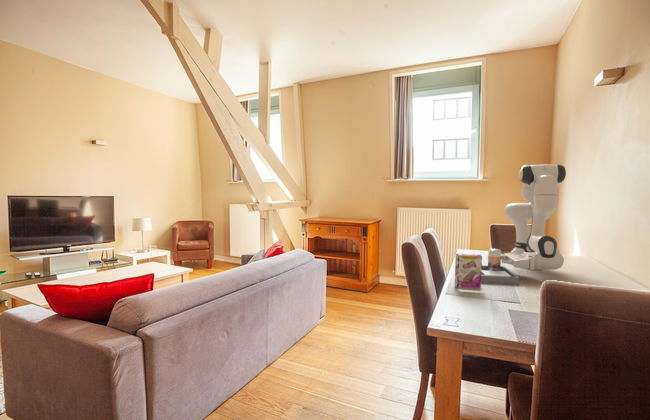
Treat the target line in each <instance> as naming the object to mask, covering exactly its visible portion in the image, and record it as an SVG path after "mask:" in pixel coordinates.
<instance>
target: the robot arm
mask: <svg viewBox="0 0 650 420" xmlns="http://www.w3.org/2000/svg"><path fill="white" fill-rule="evenodd" d="M519 169H520V170H519V172H518V177H519V181H520V182H521V183H522V187H521V193H520V195H521V197H522V198H523V200H525V201H526V202H513V203H508V204H507V205H505V207H504V213H503V214H504V215H505V217H506V219H508V220H509V221H511V223H512V224H513V225H514V228H515V235H516V236H515V238H516V239H515V243H514V248H513V249H512V250H511V252H506V253H503V254H502V255H501V263H502V264H505V265H511V266H513V267H514V268H516V269H517V268H518V269H524V270H529V271H534V270H538V269H540V270H545V271H546V270H547V271H549V270H550V271H552V270H553V271H554V270H559V269H561V268H562V266H563V265H564V260H565V259H564V256H563V254H562V253H561V252H560V250H559V248H558V242H557V241H556V239H555V238H554V237H552V236H550V235H545V232H546V231H545V229H546V220H549V218H551V216H552V213H553V212H554V211H555V210H556V209H557V208H558V205H559V198H560V192H559V189H560V188H559V184H560V183H562V182H564V180H566V179H565V178H566V176H567V171H566V167H565V166H564V165H562V164H554V163H553V164H550V163H541V164H524V165H522V166H521V168H519ZM527 221H531V225H529V224H528V222H527Z"/></svg>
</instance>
